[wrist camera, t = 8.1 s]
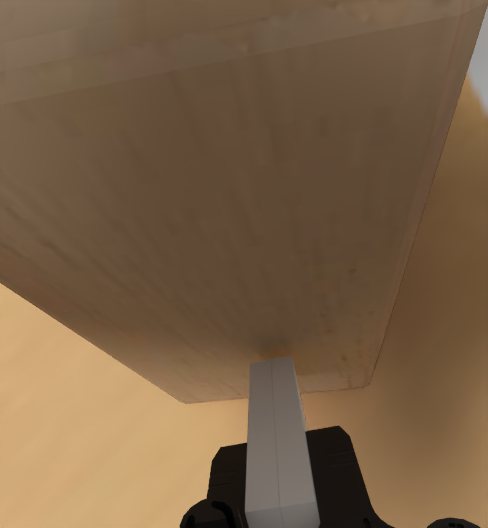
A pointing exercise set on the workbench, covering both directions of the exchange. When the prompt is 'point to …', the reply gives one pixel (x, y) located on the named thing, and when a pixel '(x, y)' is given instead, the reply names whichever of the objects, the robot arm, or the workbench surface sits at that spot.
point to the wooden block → (223, 175)
